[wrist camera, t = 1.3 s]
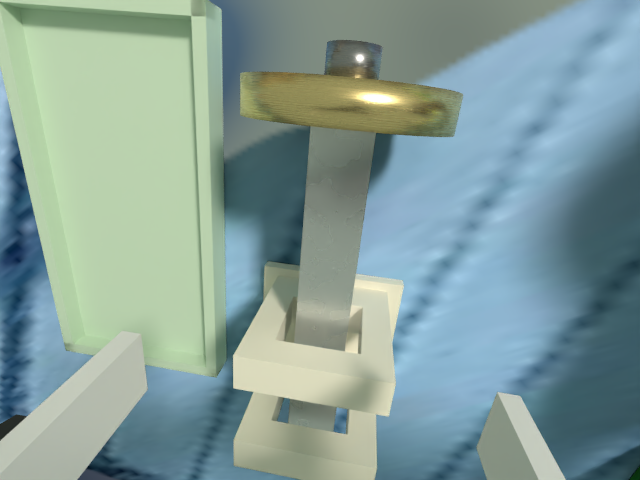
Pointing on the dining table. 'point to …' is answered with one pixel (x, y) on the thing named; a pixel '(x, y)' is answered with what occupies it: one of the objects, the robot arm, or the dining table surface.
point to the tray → (125, 168)
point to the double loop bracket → (316, 381)
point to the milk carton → (636, 475)
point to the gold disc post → (340, 175)
